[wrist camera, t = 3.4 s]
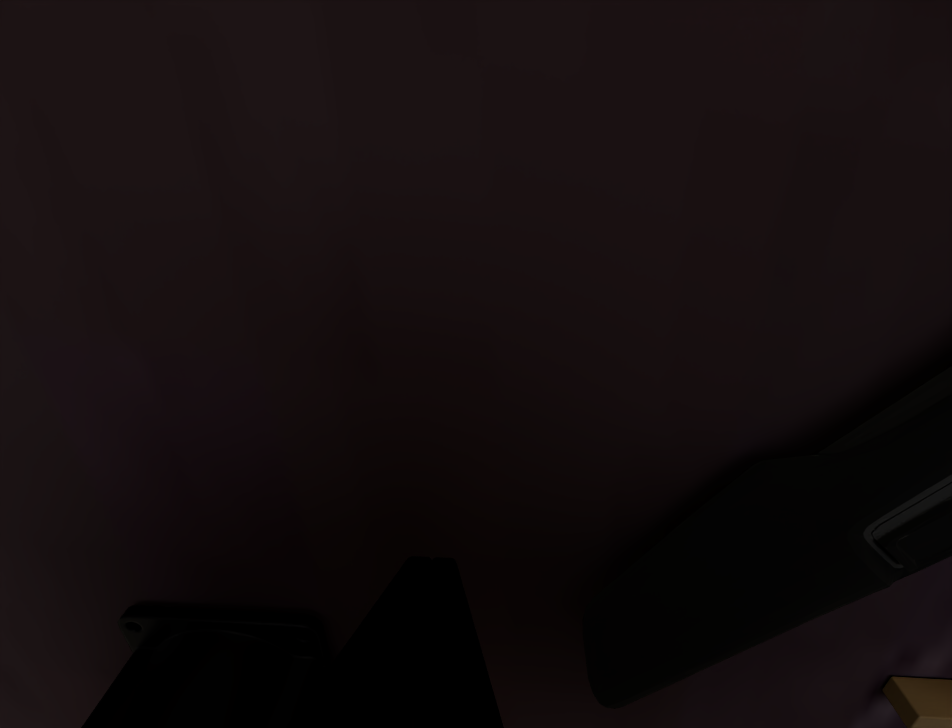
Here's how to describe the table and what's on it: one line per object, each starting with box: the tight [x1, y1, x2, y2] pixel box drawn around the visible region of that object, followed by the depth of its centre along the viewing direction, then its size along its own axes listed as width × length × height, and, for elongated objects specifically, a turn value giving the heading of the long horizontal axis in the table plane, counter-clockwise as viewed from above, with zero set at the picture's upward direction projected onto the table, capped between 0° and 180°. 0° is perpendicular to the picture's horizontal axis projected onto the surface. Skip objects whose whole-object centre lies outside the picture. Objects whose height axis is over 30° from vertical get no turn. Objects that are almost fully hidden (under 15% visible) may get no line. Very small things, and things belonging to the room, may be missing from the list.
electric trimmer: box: [583, 366, 952, 709], centre depth 10 cm, size 4×16×3 cm, turn 138°
